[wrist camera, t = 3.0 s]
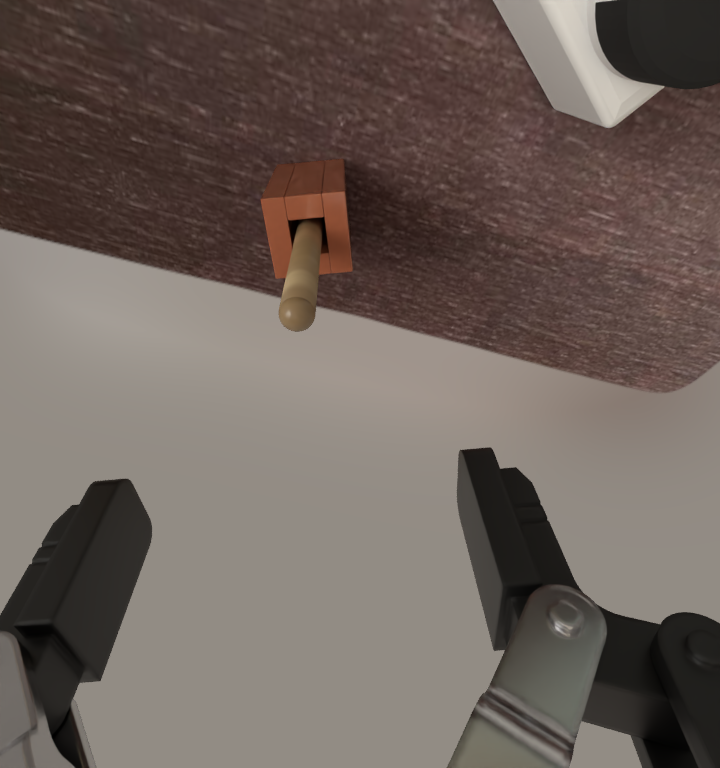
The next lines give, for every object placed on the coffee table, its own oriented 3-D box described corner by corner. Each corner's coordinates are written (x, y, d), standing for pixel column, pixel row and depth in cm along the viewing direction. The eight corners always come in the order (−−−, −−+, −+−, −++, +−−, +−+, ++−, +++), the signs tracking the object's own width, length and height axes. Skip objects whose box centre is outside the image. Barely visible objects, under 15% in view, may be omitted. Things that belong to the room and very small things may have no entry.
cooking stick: (305, 208, 33) (280, 340, 19) (302, 186, 32) (273, 306, 18) (326, 206, 33) (316, 336, 19) (324, 184, 32) (311, 303, 18)
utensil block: (288, 231, 34) (275, 278, 27) (276, 164, 31) (260, 199, 25) (350, 225, 34) (352, 271, 27) (344, 158, 31) (345, 191, 25)
